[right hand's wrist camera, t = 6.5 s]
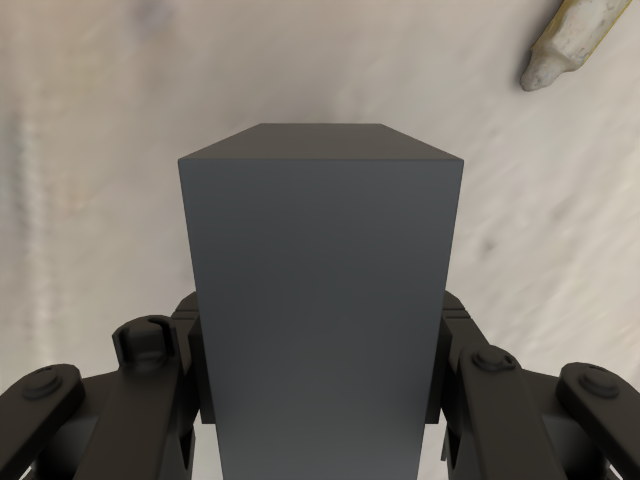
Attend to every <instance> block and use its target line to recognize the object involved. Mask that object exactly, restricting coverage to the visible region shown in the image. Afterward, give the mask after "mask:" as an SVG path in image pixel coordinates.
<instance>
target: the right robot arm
mask: <svg viewBox="0 0 640 480" xmlns="http://www.w3.org/2000/svg"><path fill="white" fill-rule="evenodd" d="M112 339H113V343H114V347H115V350H116V354H117V358H118V362H119V368H118V370H117V371H114V372H110V373H106V374H102V375H97V376H92V377H88V378H83V379H82V378H81V374H80V371H79V369H78V368H76V367H75V366H74V365H69V364H57V365H50V366H47V367H43V368H40V369H38V370H36V371H34V372H32V373H30V374H28V375H26V376H24V377H22V378H21V379H20V380H18V381H17V382H16V383H14V384H13V385H12V386H11V387H10V388H8V389H7V390H6V391H5V392H4V393H3V394H2V395H1V396H0V480H19V479H20V478H21V476H22V475H23V474H24V473H25V471H26V470H27V469H28V468H29V466H31V470H30V471H29V473H28V474H27V475H26V476H25V477H24V478H23V479H22V480H191V478H192V468H193V458H194V448H195V432H194V426H193V423H194V421H195V418H196V416H197V413H198V410H199V409H200V415H201V421H202V424H215V418H214V411H213V404H212V397H211V390H210V383H209V376H208V369H207V362H206V355H205V348H204V341H203V334H202V328H201V321H200V314H199V307H198V300H197V293H196V292H193V293H191V294H190V295H188V296H187V297H186V298H184V299H183V300H182V301H181V302H180V304H179V305H178V307H177V308H176V310H175V312H173V314H172V315H171V317H167V316H163V315H149V316H144V317H139V318H136V319H134V320H131V321H129V322H127V323H125V324H124V325H122V326H121V327H119V328H118V329H117V330H116V331H115V332H114V333H113V335H112ZM441 408H442V411H443V413H444V416H445V418H446V421H447V426H446V432H445V437H444V443H443V449H442V455H441V461H445V460H446V457H447V467H448V477H449V480H620V479H619V478H618V477H617V476H616V475H615V474H614V473H613V471H612V470H611V469H610V468H609V467H610V465H611V464H612V466H613V467H614V468H615V469H616V471H617V472H618V473H619V474H620V476H621V477H622V478H623V480H640V393H639V392H638V391H637V390H635V389H634V388H633V387H632V386H631V385H630V384H629V383H628V382H626V381H625V380H623V379H622V378H621V377H619V376H618V375H616V374H614V373H612V372H610V371H608V370H606V369H605V368H602V367H599V366H596V365H592V364H588V363H580V362H575V363H569V364H566V365H565V366H564V367H563V368H562V369H561V372H560V375H559V377H555V376H550V375H546V374H541V373H536V372H532V371H528V370H525V369H522V368H521V365H520V364H519V363H518V361H517V360H516V358H515V357H513V356H512V355H511V354H510V353H508V352H507V351H505V350H503V349H501V348H499V347H497V346H493V345H490V344H489V343H488V341H487V340H486V338H485V337H484V335H483V334H482V332H481V331H480V329H479V328H478V327H477V325H476V324H475V322H474V321H473V319H471V316H470V315H469V313H468V312H467V311H466V310H465V308H464V306H463V305H462V303H461V302H460V300H459V299H458V298H457V297H455V296H454V295H452V294H451V293H449V292H448V291H446V290H445V294H444V301H443V307H442V314H441V321H440V327H439V334H438V341H437V348H436V354H435V361H434V368H433V374H432V381H431V388H430V394H429V401H428V408H427V415H426V421H425V424H438V423H439V417H440V410H441Z"/></svg>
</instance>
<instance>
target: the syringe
mask: <svg viewBox="0 0 640 480" xmlns="http://www.w3.org/2000/svg"><path fill="white" fill-rule="evenodd" d="M631 1H632V0H563V2H562V4H561V6H560V8H559V10H558V11H557V13H556V15H555V16H554V18H553V19H552V20H551V22H550V23H549V24H548V26H547V27H546V29H545V30H544V32H543V34H542V35H541V36H540V37H539V39H538V40H537V41H536V42H535V43H534V44H533V46H532V47H531V48H530V51H531V52H532V56H531V60H530V63H529V65H528V67H527V68H526V70H525V71H524V73H523V75H522V77H521V79H520V85H521V87H522V89H523V90H524V91H528V92H530V91H534V90H537V89H540V88H543V87H547V86H549V85H551V84H552V83H553V81H554V80H555V79H556V78H557V77H558V76H559V75H560V74H561V73H563V72H571V71H575V70H577V69H578V68H580V67H581V66H582V65H583V64H584V63H585V61H586V60H587V59H588V57H589V56H590V55H591V54H592V52H593V51H594V50H595V48H596V47H597V46H598V44H599V43H600V42H601V40H602V39H603V38H604V37H605V35H606V34H607V33H608V31H609V30H610V29H611V27H612V26H613V25H614V23H615V22H616V21H617V19H618V18H619V17H620V15H621V14H622V13H623V12H624V10H625V9H626V8H627V6H628V5H629V4H630V2H631Z"/></svg>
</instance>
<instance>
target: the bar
mask: <svg viewBox="0 0 640 480" xmlns="http://www.w3.org/2000/svg"><path fill="white" fill-rule="evenodd" d="M463 166H464V160H463V159H460V158H458V157H456V156H454V155H451V154H449V153H447V152H444V151H442V150H440V149H437V148H435V147H433V146H431V145H428V144H426V143H424V142H421V141H419V140H417V139H414V138H412V137H410V136H407V135H405V134H403V133H401V132H398V131H396V130H394V129H391V128H389V127H387V126H384V125H382V124H259V125H256V126H254V127H252V128H249V129H247V130H245V131H242V132H240V133H238V134H235V135H233V136H231V137H229V138H226V139H224V140H222V141H219V142H217V143H215V144H212V145H210V146H208V147H206V148H203V149H201V150H199V151H196V152H194V153H192V154H189V155H187V156H185V157H182V158H180V159H178V168H179V175H180V182H181V189H182V196H183V203H184V209H185V216H186V223H187V230H188V237H189V244H190V251H191V258H192V265H193V272H194V279H195V286H196V293H197V300H198V307H199V314H200V321H201V328H202V334H203V341H204V348H205V355H206V362H207V369H208V376H209V383H210V390H211V397H212V404H213V411H214V418H215V425H216V432H217V439H218V446H219V453H220V459H221V466H222V473H223V480H417V475H418V468H419V462H420V455H421V448H422V441H423V435H424V428H425V421H426V415H427V408H428V401H429V394H430V388H431V381H432V374H433V368H434V361H435V354H436V348H437V341H438V334H439V327H440V321H441V314H442V307H443V301H444V294H445V287H446V280H447V274H448V267H449V260H450V254H451V247H452V240H453V233H454V227H455V220H456V213H457V207H458V200H459V193H460V187H461V180H462V173H463Z"/></svg>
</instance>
